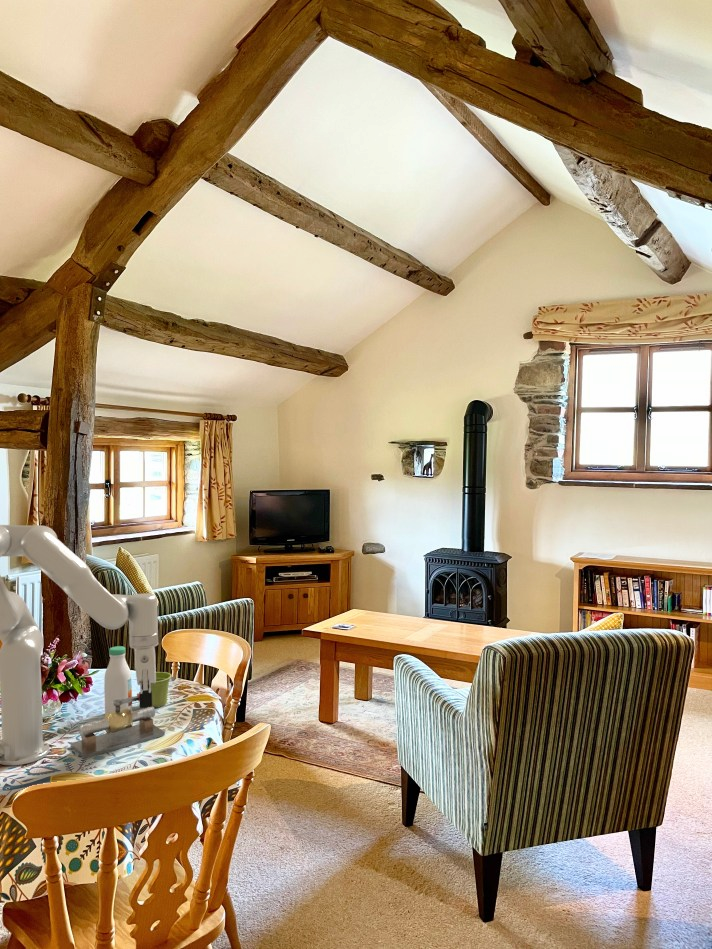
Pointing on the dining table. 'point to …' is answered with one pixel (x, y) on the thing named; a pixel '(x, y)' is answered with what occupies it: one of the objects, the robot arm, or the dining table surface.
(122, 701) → the valve lever
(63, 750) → the dining table surface
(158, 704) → the plant pot
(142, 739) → the stand
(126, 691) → the milk bottle
